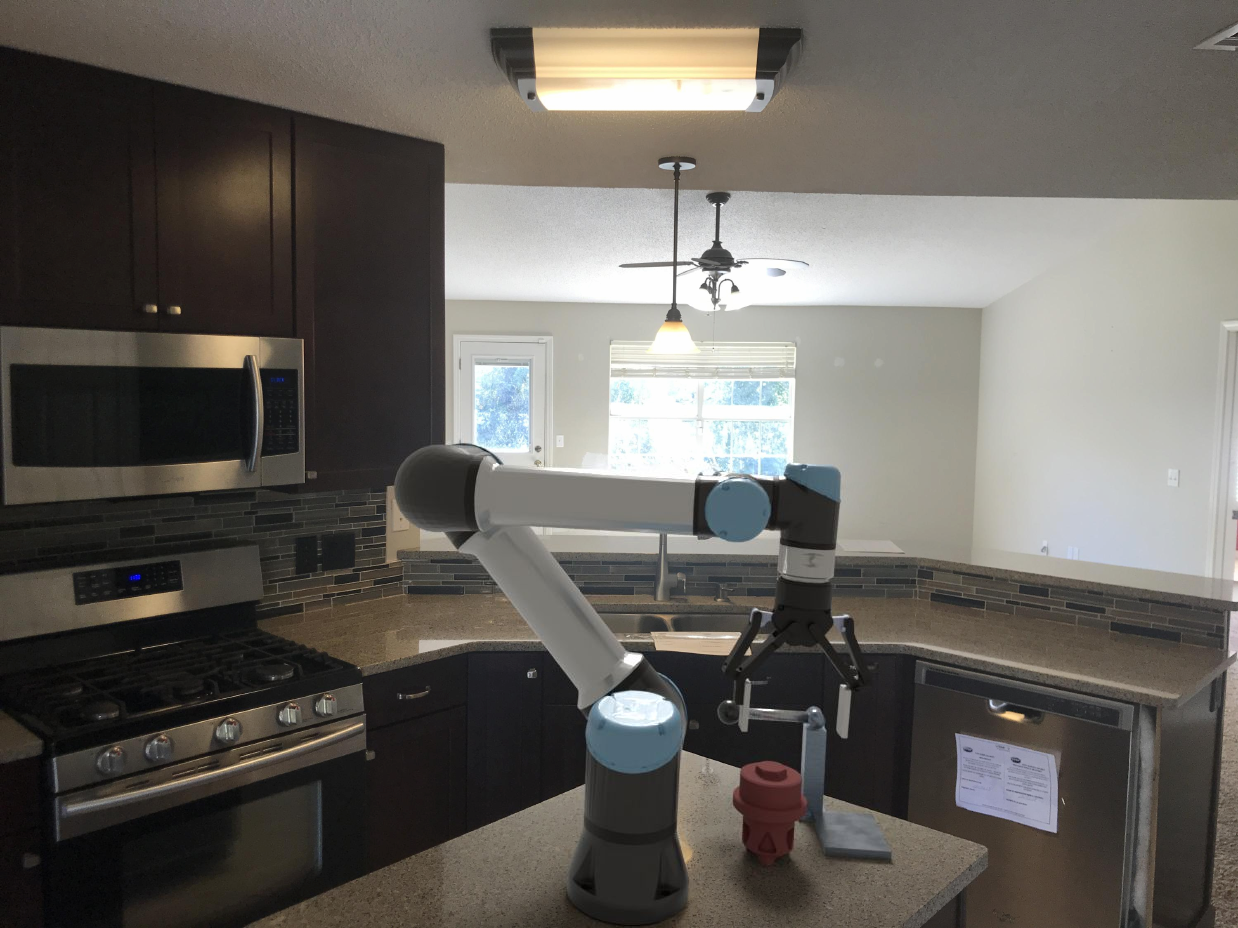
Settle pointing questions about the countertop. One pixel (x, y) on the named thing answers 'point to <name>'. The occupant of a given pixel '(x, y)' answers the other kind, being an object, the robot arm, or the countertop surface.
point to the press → (834, 828)
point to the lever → (771, 714)
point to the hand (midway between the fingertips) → (792, 731)
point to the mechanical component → (769, 808)
